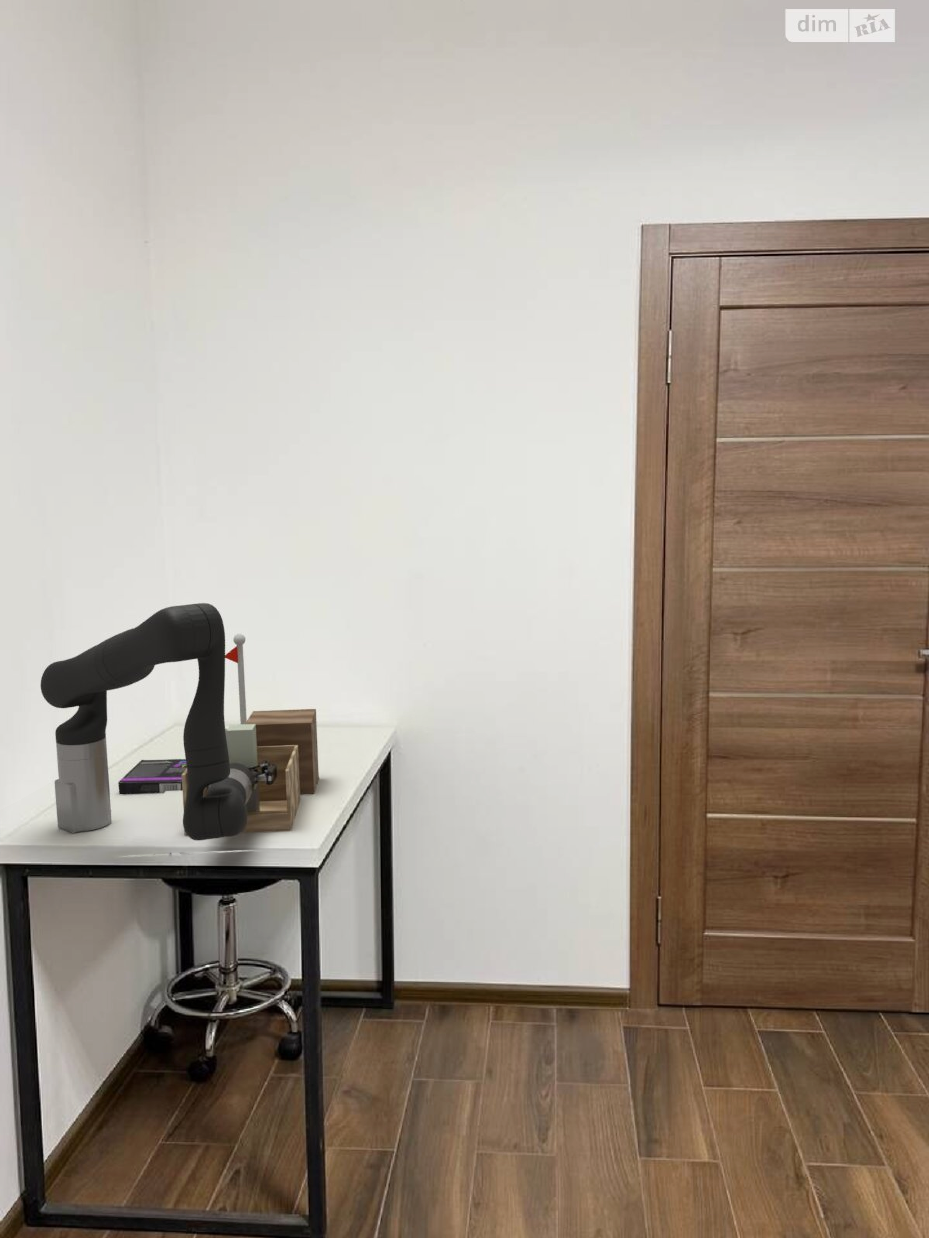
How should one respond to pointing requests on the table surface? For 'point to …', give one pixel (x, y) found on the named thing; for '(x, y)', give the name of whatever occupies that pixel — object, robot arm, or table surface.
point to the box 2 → (244, 755)
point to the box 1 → (153, 777)
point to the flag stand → (239, 673)
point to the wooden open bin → (272, 791)
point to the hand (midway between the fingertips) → (243, 765)
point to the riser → (291, 739)
